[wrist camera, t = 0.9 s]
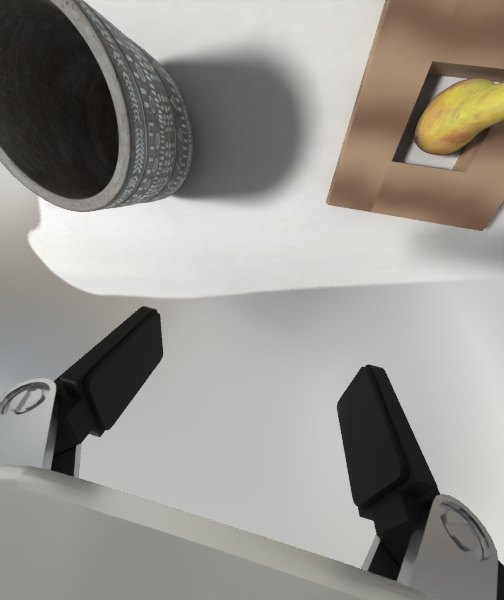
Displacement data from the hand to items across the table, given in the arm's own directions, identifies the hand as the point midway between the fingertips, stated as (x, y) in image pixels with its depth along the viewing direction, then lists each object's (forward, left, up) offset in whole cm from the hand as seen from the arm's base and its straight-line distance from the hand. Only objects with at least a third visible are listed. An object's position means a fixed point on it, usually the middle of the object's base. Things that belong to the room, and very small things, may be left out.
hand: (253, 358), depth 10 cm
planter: (-9, -19, -26) cm, 33 cm away
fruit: (-14, +14, -26) cm, 32 cm away
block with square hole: (-14, +14, -25) cm, 32 cm away
